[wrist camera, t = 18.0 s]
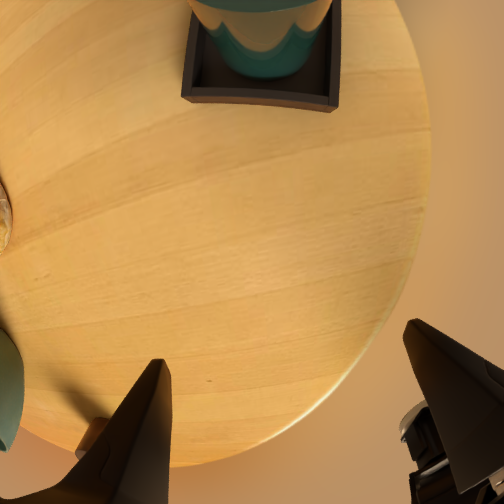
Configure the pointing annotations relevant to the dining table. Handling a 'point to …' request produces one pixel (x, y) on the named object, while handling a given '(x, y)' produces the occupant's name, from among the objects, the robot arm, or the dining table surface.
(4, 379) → the teal bowl
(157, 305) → the dining table surface
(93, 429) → the stand
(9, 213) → the bread roll
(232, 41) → the teal cylinder
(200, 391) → the dining table surface
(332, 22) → the dark square tray
